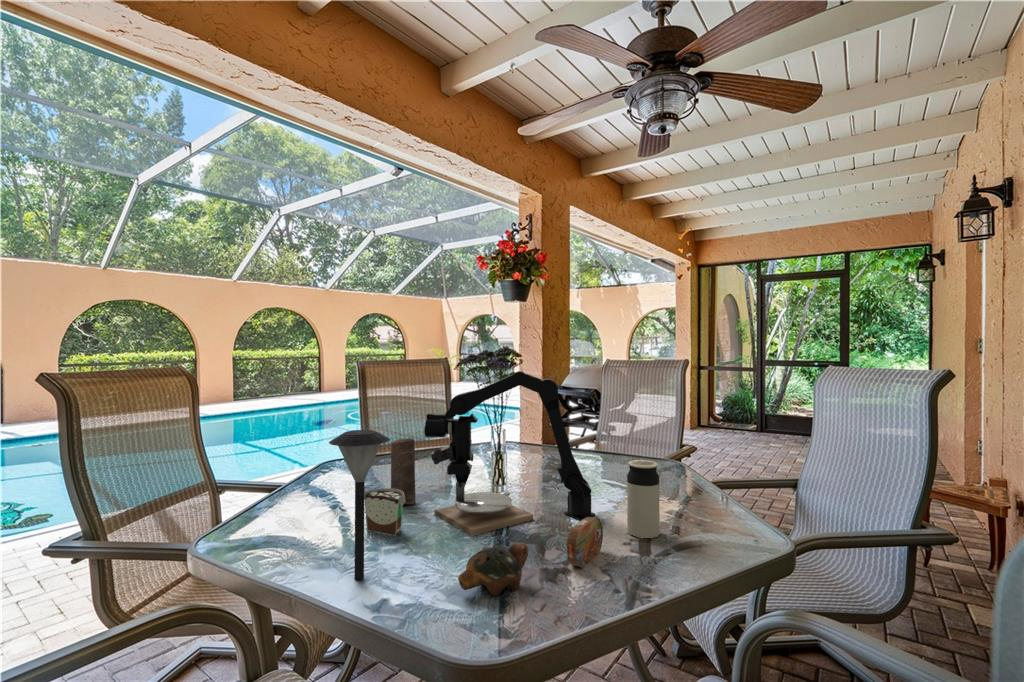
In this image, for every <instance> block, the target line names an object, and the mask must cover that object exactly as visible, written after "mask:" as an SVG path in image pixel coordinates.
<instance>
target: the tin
mask: <svg viewBox="0 0 1024 682" xmlns="http://www.w3.org/2000/svg"><path fill="white" fill-rule="evenodd" d="M603 530H604V529H603V524H602V521H601V519H600V518H599V517H597V516H592V517H586V518H584V519H581V520H580V521H579V522H578V523H576V524H575V525H574V526H572V527H571V528H570V529H569V531H568V532H569V533H568V535H567V539H566V551H567V552H566V553H567V560H568V563H569V564H570V565H571V566H574V567H579V568H580V569H584V568H586V567H587V566H588V565H589V564H590V563H591V562H592V561H593V560H594V559H595V558H596V557H597V556H598V555H599V554H600V552H601V550H602V545H603V540H604V539H603V538H604V537H603V536H604V533H603V532H604V531H603ZM588 563H589V564H588ZM587 564H588V565H587ZM586 565H587V566H586ZM585 566H586V567H585Z"/></svg>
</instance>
